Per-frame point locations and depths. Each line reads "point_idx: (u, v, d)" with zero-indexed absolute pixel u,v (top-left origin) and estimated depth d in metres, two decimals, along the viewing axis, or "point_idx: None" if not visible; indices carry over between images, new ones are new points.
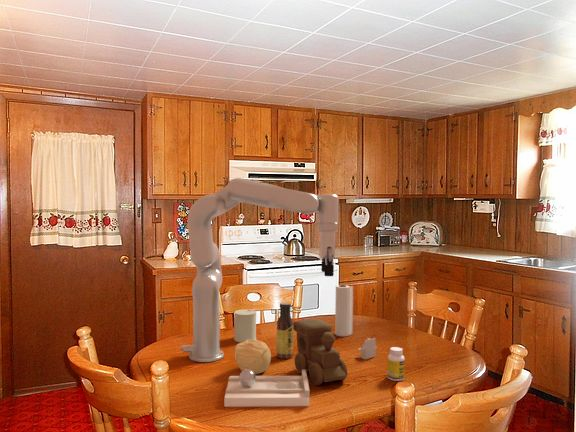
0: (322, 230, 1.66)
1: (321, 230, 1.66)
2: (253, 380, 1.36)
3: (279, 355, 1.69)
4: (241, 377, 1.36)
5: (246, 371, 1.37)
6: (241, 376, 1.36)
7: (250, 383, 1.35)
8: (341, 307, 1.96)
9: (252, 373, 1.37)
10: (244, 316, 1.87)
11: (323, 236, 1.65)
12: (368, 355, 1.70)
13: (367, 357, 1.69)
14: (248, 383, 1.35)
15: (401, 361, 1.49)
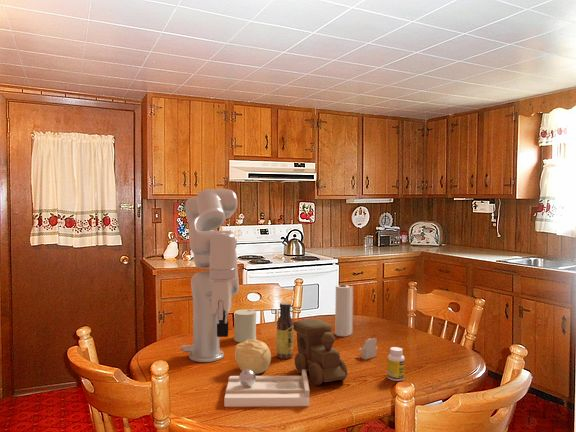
0: (213, 279, 1.33)
1: (212, 278, 1.33)
2: (253, 380, 1.36)
3: (279, 355, 1.69)
4: (241, 377, 1.36)
5: (246, 371, 1.37)
6: (241, 376, 1.36)
7: (250, 383, 1.35)
8: (341, 307, 1.96)
9: (252, 373, 1.37)
10: (244, 316, 1.87)
11: (213, 286, 1.32)
12: (369, 355, 1.70)
13: (368, 357, 1.69)
14: (248, 383, 1.35)
15: (401, 361, 1.49)
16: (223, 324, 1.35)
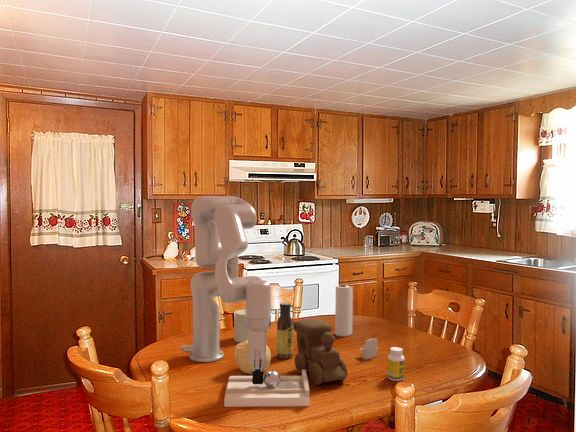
0: (249, 328, 1.34)
1: (248, 327, 1.34)
2: (264, 381, 1.36)
3: (279, 355, 1.69)
4: (276, 383, 1.35)
5: (273, 387, 1.36)
6: (276, 384, 1.35)
7: (266, 379, 1.35)
8: (341, 307, 1.96)
9: None
10: (244, 316, 1.87)
11: (250, 336, 1.33)
12: (369, 355, 1.70)
13: (368, 357, 1.69)
14: (267, 379, 1.35)
15: (401, 360, 1.49)
16: (259, 372, 1.36)
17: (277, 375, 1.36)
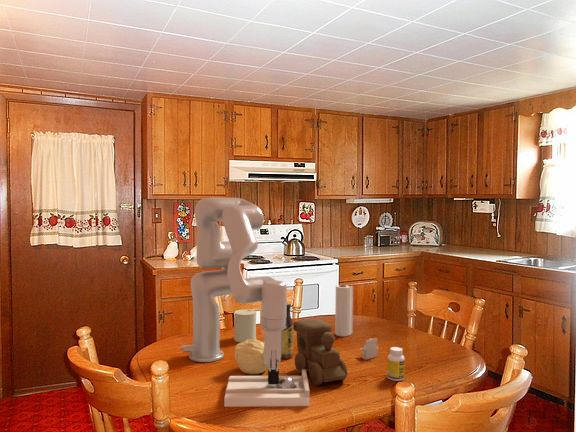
0: (265, 328, 1.34)
1: (264, 328, 1.34)
2: (290, 377, 1.40)
3: None
4: (284, 384, 1.36)
5: (280, 380, 1.38)
6: (283, 384, 1.37)
7: (292, 379, 1.39)
8: (341, 307, 1.96)
9: (283, 377, 1.40)
10: (244, 316, 1.87)
11: (266, 336, 1.33)
12: (369, 355, 1.70)
13: (368, 357, 1.69)
14: (292, 380, 1.38)
15: (401, 361, 1.49)
16: (274, 372, 1.36)
17: None
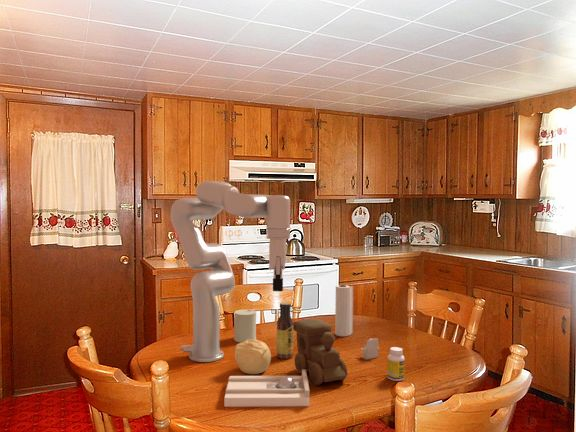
0: (270, 237, 1.44)
1: (269, 237, 1.44)
2: (289, 377, 1.39)
3: (279, 355, 1.69)
4: (284, 384, 1.36)
5: (280, 380, 1.38)
6: (283, 384, 1.36)
7: (292, 379, 1.38)
8: (341, 307, 1.96)
9: (283, 377, 1.40)
10: (244, 316, 1.87)
11: (271, 244, 1.43)
12: (370, 355, 1.70)
13: (369, 357, 1.69)
14: (292, 380, 1.38)
15: (401, 361, 1.49)
16: (279, 279, 1.46)
17: None
